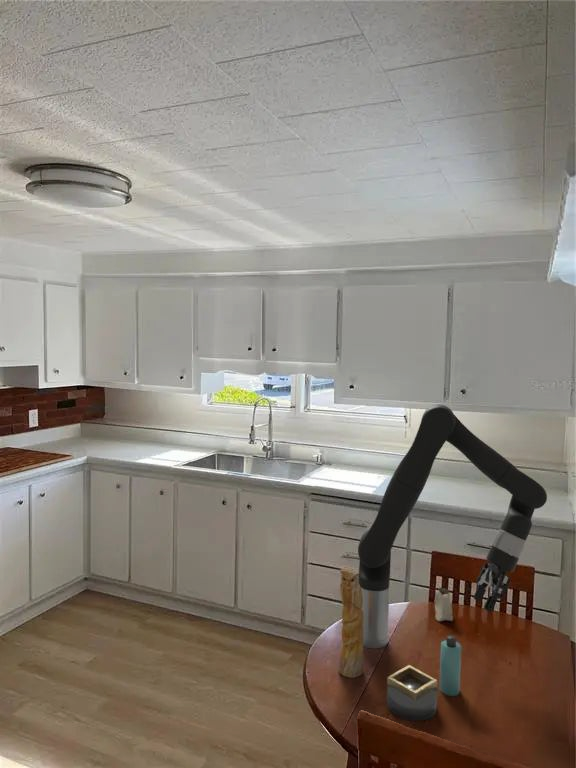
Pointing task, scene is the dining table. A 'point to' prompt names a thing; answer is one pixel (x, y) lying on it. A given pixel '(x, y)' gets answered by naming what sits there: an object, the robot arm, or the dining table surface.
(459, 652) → the bottle
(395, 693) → the disc with square collar
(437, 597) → the grey sack
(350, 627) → the sculpture
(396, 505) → the robot arm
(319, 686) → the dining table surface
